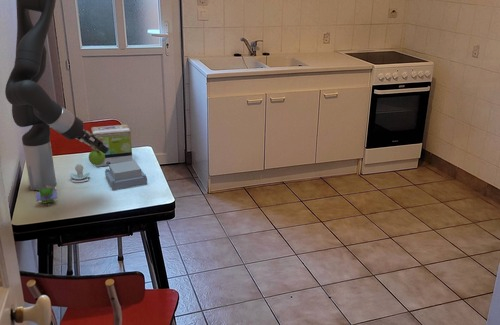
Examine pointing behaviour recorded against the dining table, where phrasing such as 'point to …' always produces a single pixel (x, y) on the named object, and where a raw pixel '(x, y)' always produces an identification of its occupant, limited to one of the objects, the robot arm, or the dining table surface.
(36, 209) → the dining table surface
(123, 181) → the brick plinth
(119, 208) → the dining table surface
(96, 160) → the snail figurine
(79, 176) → the pacifier
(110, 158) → the tea box
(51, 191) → the geometric puzzle
